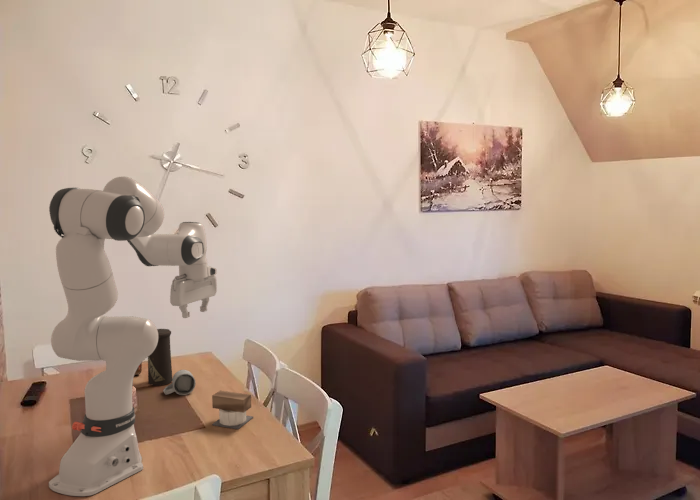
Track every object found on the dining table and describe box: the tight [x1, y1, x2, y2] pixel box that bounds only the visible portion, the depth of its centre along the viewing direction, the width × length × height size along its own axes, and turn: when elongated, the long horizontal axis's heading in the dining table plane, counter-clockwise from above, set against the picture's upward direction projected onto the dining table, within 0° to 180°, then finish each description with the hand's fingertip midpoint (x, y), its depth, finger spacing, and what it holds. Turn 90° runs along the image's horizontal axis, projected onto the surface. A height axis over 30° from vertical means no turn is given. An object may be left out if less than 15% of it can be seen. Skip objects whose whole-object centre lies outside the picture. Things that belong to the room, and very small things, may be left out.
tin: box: [134, 362, 143, 376], centre depth 217 cm, size 15×3×8 cm, turn 39°
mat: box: [211, 415, 254, 430], centre depth 170 cm, size 9×9×1 cm
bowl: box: [218, 409, 247, 426], centre depth 170 cm, size 8×8×4 cm
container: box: [147, 328, 173, 387], centre depth 205 cm, size 9×9×20 cm
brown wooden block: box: [211, 390, 252, 413], centre depth 169 cm, size 4×11×4 cm, turn 70°
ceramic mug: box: [163, 369, 196, 396], centre depth 195 cm, size 11×8×8 cm
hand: (195, 314), depth 178 cm, fingers open, 8 cm apart
